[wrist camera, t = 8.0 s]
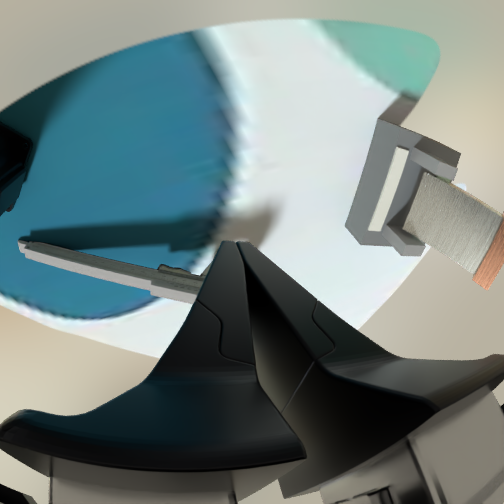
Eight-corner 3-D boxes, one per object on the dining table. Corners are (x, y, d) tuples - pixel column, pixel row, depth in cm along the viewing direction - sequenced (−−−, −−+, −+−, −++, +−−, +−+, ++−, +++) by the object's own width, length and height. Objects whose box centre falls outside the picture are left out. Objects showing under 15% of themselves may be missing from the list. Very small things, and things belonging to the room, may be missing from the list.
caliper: (239, 259, 25) (254, 312, 20) (237, 269, 26) (250, 322, 21) (19, 237, 19) (-12, 284, 14) (21, 248, 20) (-7, 295, 15)
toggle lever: (399, 232, 21) (487, 290, 16) (424, 168, 18) (521, 227, 13) (407, 227, 22) (488, 279, 17) (430, 167, 19) (518, 221, 14)
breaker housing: (344, 226, 25) (378, 267, 20) (377, 118, 19) (428, 139, 15) (406, 231, 27) (440, 266, 22) (439, 142, 21) (484, 167, 17)
